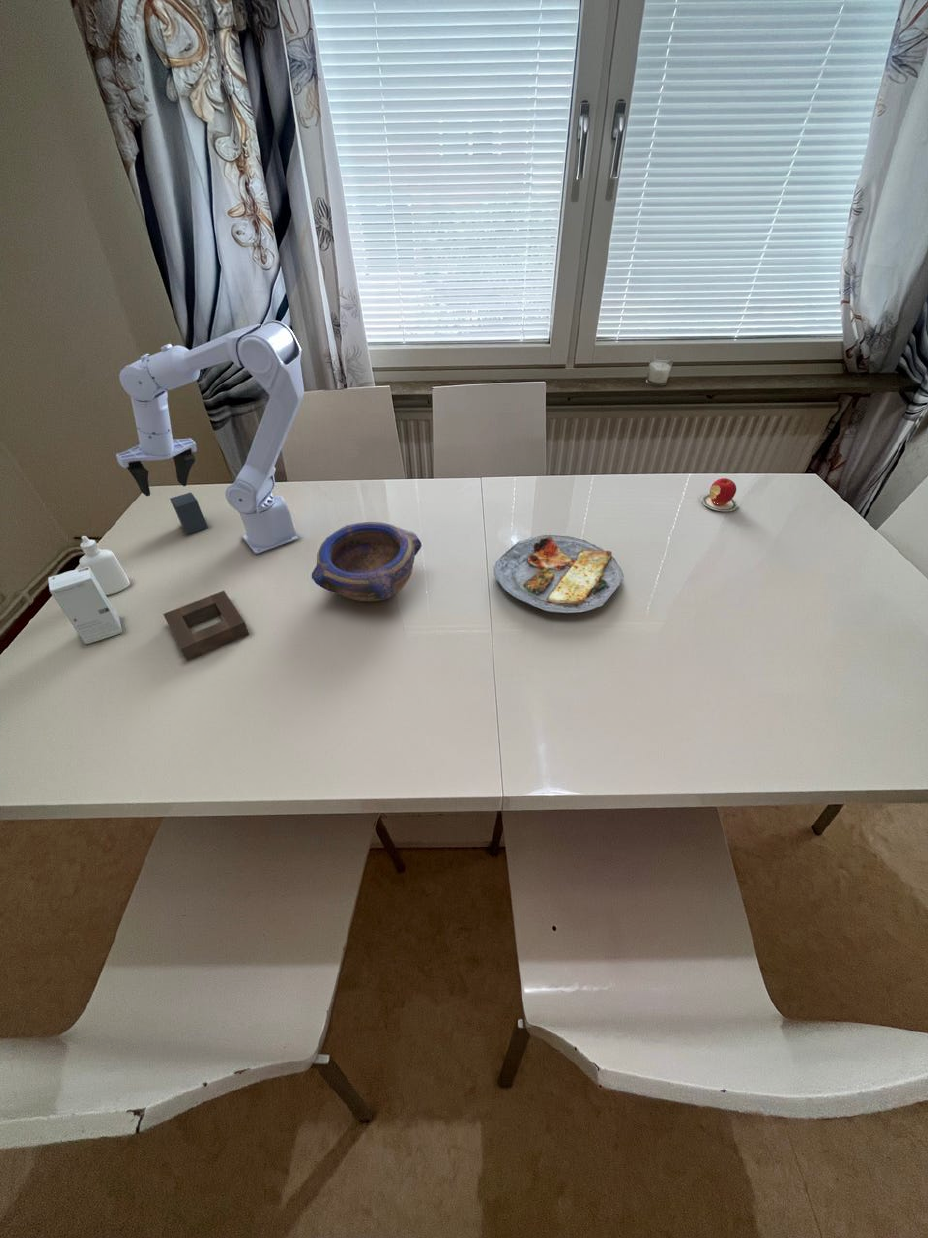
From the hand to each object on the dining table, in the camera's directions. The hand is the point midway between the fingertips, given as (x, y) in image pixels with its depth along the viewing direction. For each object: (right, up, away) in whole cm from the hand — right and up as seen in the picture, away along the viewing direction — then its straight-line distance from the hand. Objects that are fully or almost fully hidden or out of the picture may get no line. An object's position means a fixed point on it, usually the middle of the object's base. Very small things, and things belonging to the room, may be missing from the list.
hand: (164, 488), depth 107 cm
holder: (+17, -29, -15) cm, 37 cm away
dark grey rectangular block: (+1, -6, +10) cm, 11 cm away
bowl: (+44, -21, -6) cm, 49 cm away
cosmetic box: (-2, -30, -15) cm, 33 cm away
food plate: (+81, -19, -4) cm, 83 cm away
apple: (+123, 0, +17) cm, 124 cm away
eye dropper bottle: (-6, -21, -6) cm, 23 cm away
